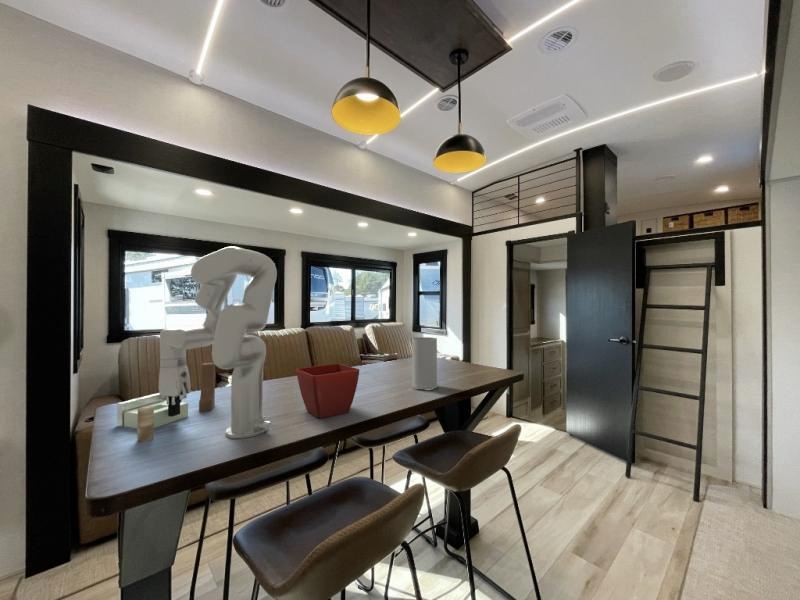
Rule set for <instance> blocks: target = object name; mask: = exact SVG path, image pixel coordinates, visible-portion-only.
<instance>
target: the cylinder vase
mask: <svg viewBox="0 0 800 600" xmlns="http://www.w3.org/2000/svg"><path fill="white" fill-rule="evenodd" d="M411 339H412V341H411V342H412V345H411V347H412V349H411V350H412V352H411V353H412V355H411V356H412V357H411V358H412V360H411V361H412V364H411V366H412V368H411V369H412V379H411V380H412V381H411V382H412V388H413V387H414V388H417V389H432V388H435V387H437V388H438V344H437V343H438V338H436V337H429V336H428V337H426V336H425V337H421V336H419V337H412V338H411ZM414 388H413V389H414ZM417 389H416V390H417Z"/></svg>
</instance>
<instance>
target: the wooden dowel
mask: <svg viewBox="0 0 800 600" xmlns="http://www.w3.org/2000/svg"><path fill="white" fill-rule="evenodd" d="M136 430H137V436H136V438H137V439H136V440H137V441H136V442H137V443H146V442H149V441H152V440H153V439H154V436H155V435H154V433H155V432H154V430H155V428H154V406H144V407H140V408H138V420H137V428H136Z"/></svg>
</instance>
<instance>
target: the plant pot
mask: <svg viewBox="0 0 800 600" xmlns="http://www.w3.org/2000/svg"><path fill="white" fill-rule="evenodd" d="M295 369H296V370H295V371H296V376H297V381H298V382H297V383H298V387H299V391H300V395H301V398H302V401H303V403H304V406H305V408H306V409H305V410H306V411H307V412H308V413H310V414H311V415H313V416H314V417H316V418H317V419H325V418H328V417H333V416H337V415H341V414H347V413H349V412H350V410H351V408H352V404H353V401H354V399H355V396H356V390H357V387H358V382H359V375H360V369H359V368H357V367H353V366H349V365H346V364H342V363H331V364H324V365H323V364H322V365H314V366H306V367H300V368H299V367H298V368H295Z"/></svg>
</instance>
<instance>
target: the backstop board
mask: <svg viewBox="0 0 800 600" xmlns="http://www.w3.org/2000/svg"><path fill="white" fill-rule="evenodd" d="M162 401H166V400H165V399H164V398H162V397H161V395H160V394H159V392H157V393H153V394H149V395H145V396H141V397H136V398H133V399H132V398H131V399H129V400H126V401H121V402H117V404H116V406H117V411H116V426H117V427H120V426H121V427H123V428H124V412H126V411H130V410H133V409H137V408H140V407H144V406H148V405H151V404H155V403H158V402H162Z"/></svg>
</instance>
